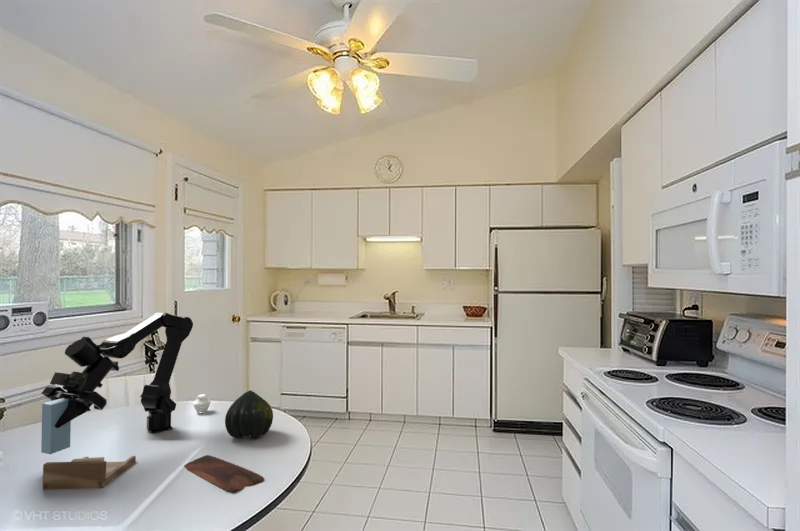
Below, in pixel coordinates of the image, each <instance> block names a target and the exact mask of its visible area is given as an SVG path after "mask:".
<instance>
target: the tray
mask: <svg viewBox="0 0 800 531" xmlns="http://www.w3.org/2000/svg"><path fill="white" fill-rule="evenodd" d="M83 458H90V457H89V456H84V457H83ZM136 459H137V457H136V455H131V456H130V457H129V458H128V459H126V460H124V461H106V460H104V461H90V462H71V461H48V462H47V461H46V462H45V463H44V464H43V465H42V466H43V467H42V490H43V491H44V490H81V489H86V490H87V489H89V490H90V489H104V488H105V487H107V486H108V485H109V484H111V482H113V481H114V480H115V479H116V478H118V477H119V476H120V475H122V473H124V472H125V471H126V470H128V469H129V468H130V467H132V465H134V464H135V463H136V462H137V460H136Z"/></svg>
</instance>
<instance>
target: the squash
mask: <svg viewBox="0 0 800 531" xmlns="http://www.w3.org/2000/svg"><path fill="white" fill-rule="evenodd" d="M273 421H274V413H273V409H272V406H271V405H270V403H268V402H267V401H266V400H265V399H264V398H263V397H262V396H260V395H259V394H257V393H256V392H254V391H252V390H251V389H250V390H248V391H246V392H244V393H243V394H242V395H240V396H239V397H238V398H237V399H236V400H235V401H234V402H233V403H232V404H231V405H230V407H229V408H228V410H227V412H226V414H225V418H224V425H225V429H226V431H227V433H228V434H229V436H230V437H232V438H233V439H242V438H248V437H250V438H251V439H252V440H257V439H259V438H260V437H261V436H264V435H266V434H267V433H268V432H269V430H270V429H271V427H272V424H273Z"/></svg>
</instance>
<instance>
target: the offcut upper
mask: <svg viewBox="0 0 800 531" xmlns="http://www.w3.org/2000/svg"><path fill="white" fill-rule="evenodd" d="M90 461H105V457H104V456H99V457H89V458H84V457H83V458H82V457H81V458H73V459H72V460H71V461H70V462H90Z"/></svg>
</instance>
